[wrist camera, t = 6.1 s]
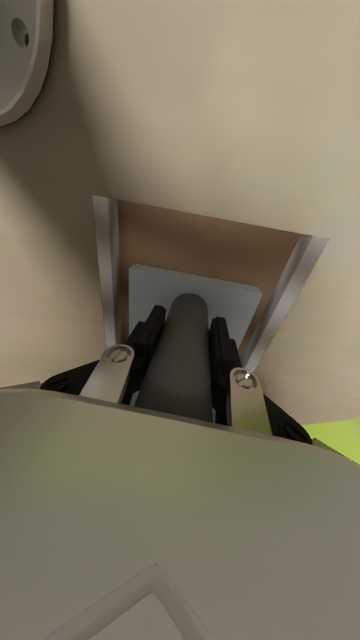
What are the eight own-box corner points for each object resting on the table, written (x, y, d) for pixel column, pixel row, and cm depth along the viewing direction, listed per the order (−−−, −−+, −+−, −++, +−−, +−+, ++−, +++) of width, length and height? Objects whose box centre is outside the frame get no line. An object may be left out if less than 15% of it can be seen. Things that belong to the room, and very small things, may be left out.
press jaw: (129, 262, 14) (-52, 370, 4) (263, 288, 14) (418, 468, 4) (129, 363, 20) (58, 503, 10) (221, 382, 20) (239, 544, 10)
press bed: (110, 198, 13) (91, 194, 11) (308, 235, 12) (329, 238, 10) (117, 347, 21) (107, 362, 19) (239, 372, 20) (243, 390, 18)
